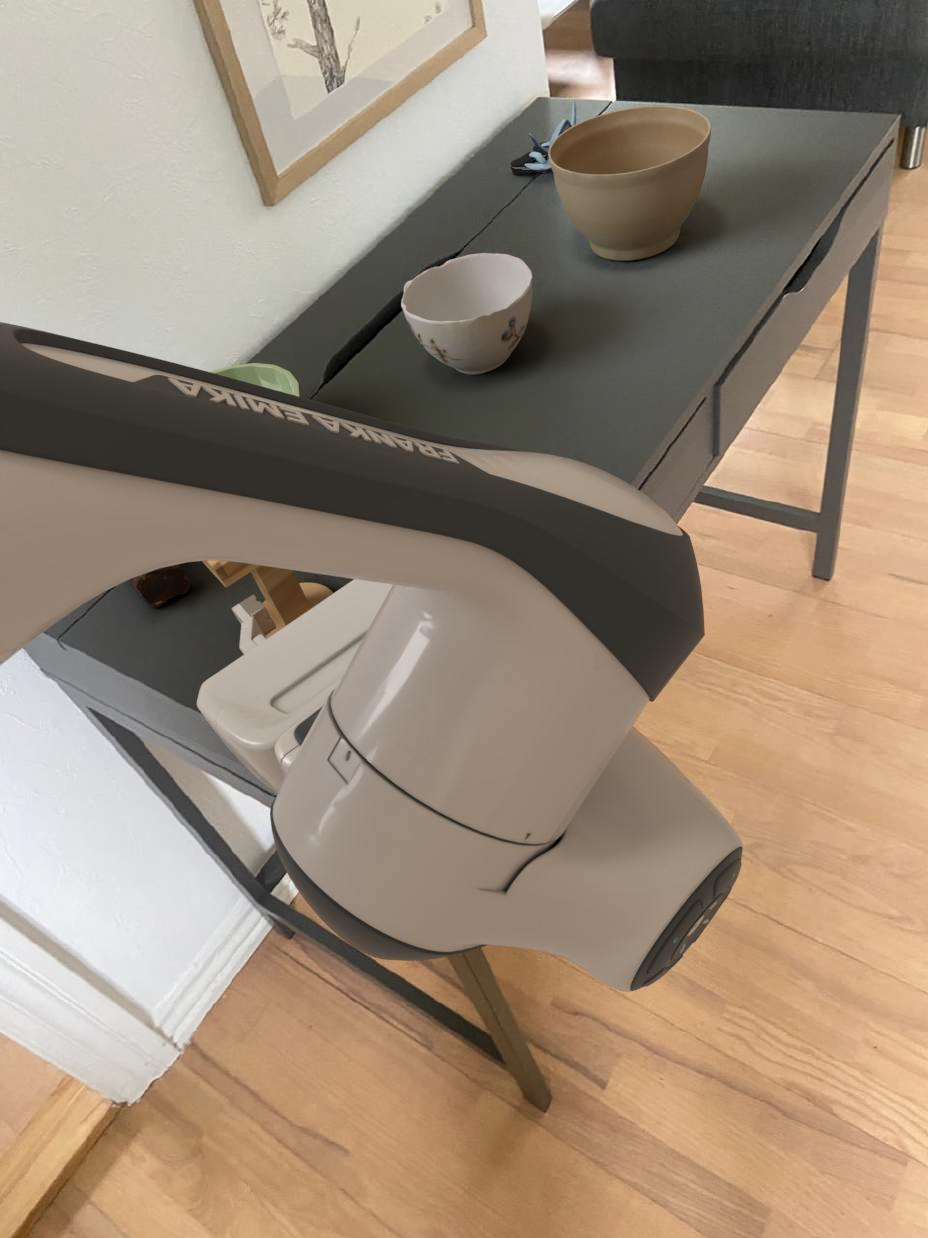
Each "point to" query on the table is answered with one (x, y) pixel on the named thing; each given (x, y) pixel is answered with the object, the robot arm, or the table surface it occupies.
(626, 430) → the table surface
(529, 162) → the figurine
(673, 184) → the planter bowl
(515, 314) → the teacup
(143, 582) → the brick
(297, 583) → the wooden pedestal tray
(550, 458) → the robot arm
